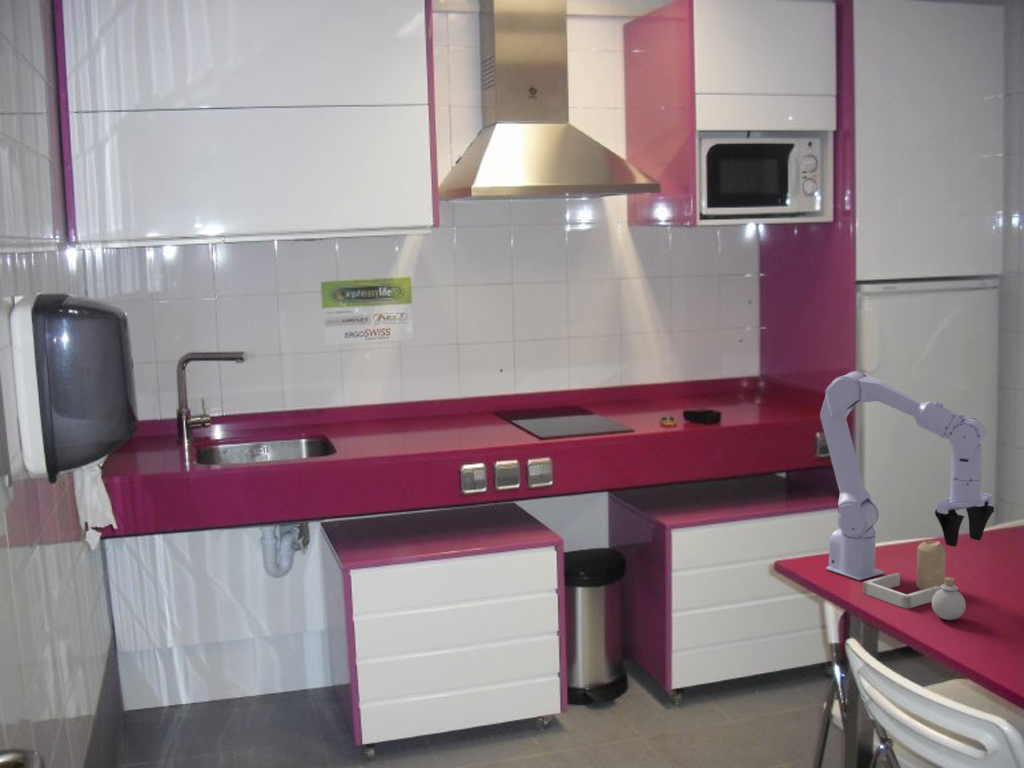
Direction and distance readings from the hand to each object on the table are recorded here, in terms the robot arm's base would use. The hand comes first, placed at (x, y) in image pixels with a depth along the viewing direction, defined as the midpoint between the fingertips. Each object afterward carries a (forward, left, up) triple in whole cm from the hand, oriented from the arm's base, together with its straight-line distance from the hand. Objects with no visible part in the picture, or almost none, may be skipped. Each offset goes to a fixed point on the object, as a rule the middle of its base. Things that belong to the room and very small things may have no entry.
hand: (963, 542), depth 215 cm
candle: (-4, -4, -10) cm, 12 cm away
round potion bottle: (+8, -16, -11) cm, 21 cm away
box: (-4, -12, -10) cm, 17 cm away
